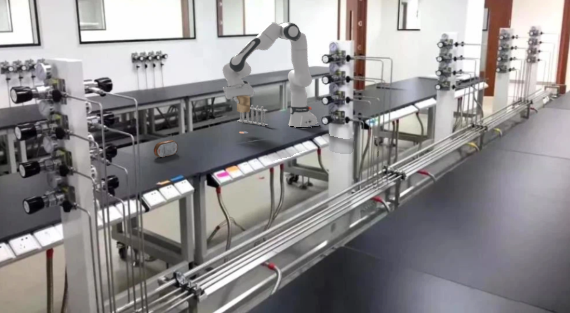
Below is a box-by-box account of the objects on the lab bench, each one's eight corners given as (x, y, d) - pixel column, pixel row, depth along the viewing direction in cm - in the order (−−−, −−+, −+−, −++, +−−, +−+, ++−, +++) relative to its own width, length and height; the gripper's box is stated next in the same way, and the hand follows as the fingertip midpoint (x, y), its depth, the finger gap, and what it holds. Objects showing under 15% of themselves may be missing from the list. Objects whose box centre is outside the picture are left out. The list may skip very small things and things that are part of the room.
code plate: (260, 130, 345) (260, 129, 345) (267, 135, 333) (267, 133, 333) (230, 132, 338) (230, 131, 337) (236, 137, 325) (236, 136, 325)
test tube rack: (268, 125, 362) (268, 106, 359) (264, 126, 359) (264, 107, 355) (241, 120, 376) (241, 102, 373) (237, 121, 373) (237, 103, 369)
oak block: (244, 110, 336) (244, 95, 333) (249, 111, 331) (249, 96, 329) (237, 111, 332) (236, 95, 330) (241, 112, 328) (241, 97, 325)
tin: (175, 152, 289) (175, 138, 287) (179, 153, 287) (178, 139, 285) (153, 158, 278) (152, 143, 276) (157, 159, 276) (156, 144, 274)
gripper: (223, 83, 326) (231, 101, 322) (250, 81, 338) (258, 98, 333) (220, 89, 331) (228, 107, 326) (247, 87, 343) (255, 104, 338)
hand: (243, 102), depth 330 cm, fingers closed on oak block, 6 cm apart
